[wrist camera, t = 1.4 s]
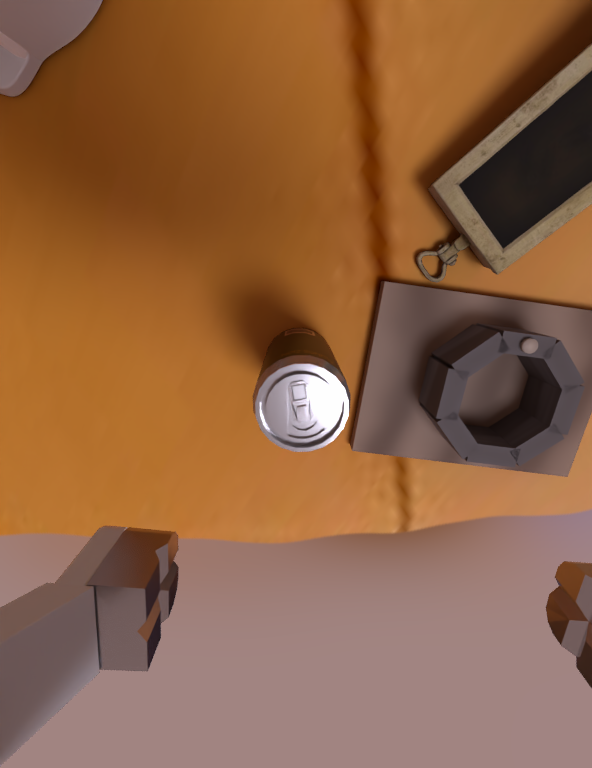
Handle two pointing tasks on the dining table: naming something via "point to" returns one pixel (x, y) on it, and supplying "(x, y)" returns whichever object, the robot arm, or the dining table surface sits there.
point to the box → (522, 174)
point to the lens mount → (475, 380)
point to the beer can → (301, 392)
